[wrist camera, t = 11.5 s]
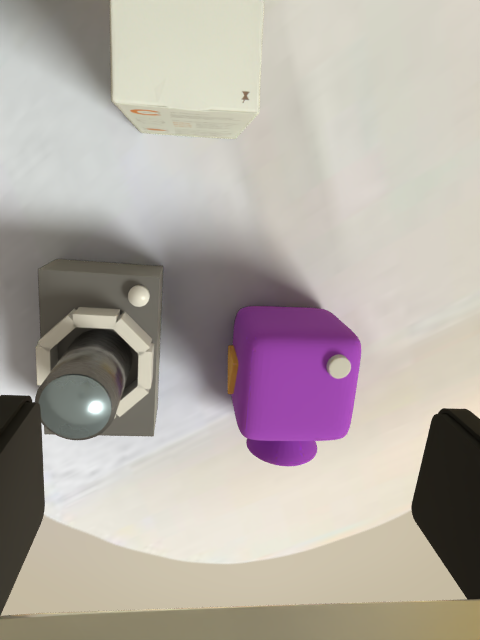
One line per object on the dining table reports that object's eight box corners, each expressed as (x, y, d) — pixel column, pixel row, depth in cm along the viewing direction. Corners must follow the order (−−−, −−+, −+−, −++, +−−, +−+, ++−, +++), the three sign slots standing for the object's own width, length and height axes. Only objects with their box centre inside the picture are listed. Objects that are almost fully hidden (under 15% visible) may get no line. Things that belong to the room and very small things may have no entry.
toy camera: (233, 435, 45) (245, 502, 35) (214, 307, 41) (221, 343, 31) (336, 417, 46) (375, 478, 36) (327, 289, 41) (369, 320, 32)
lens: (67, 327, 35) (31, 369, 27) (132, 330, 35) (116, 372, 27) (68, 385, 36) (35, 442, 28) (131, 387, 37) (115, 443, 29)
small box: (241, 54, 35) (269, -19, 23) (237, 140, 37) (261, 117, 24) (136, 44, 34) (106, -37, 22) (137, 133, 36) (110, 105, 23)
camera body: (56, 258, 38) (28, 274, 31) (163, 266, 39) (157, 282, 32) (61, 405, 42) (36, 447, 35) (157, 408, 43) (151, 449, 36)
